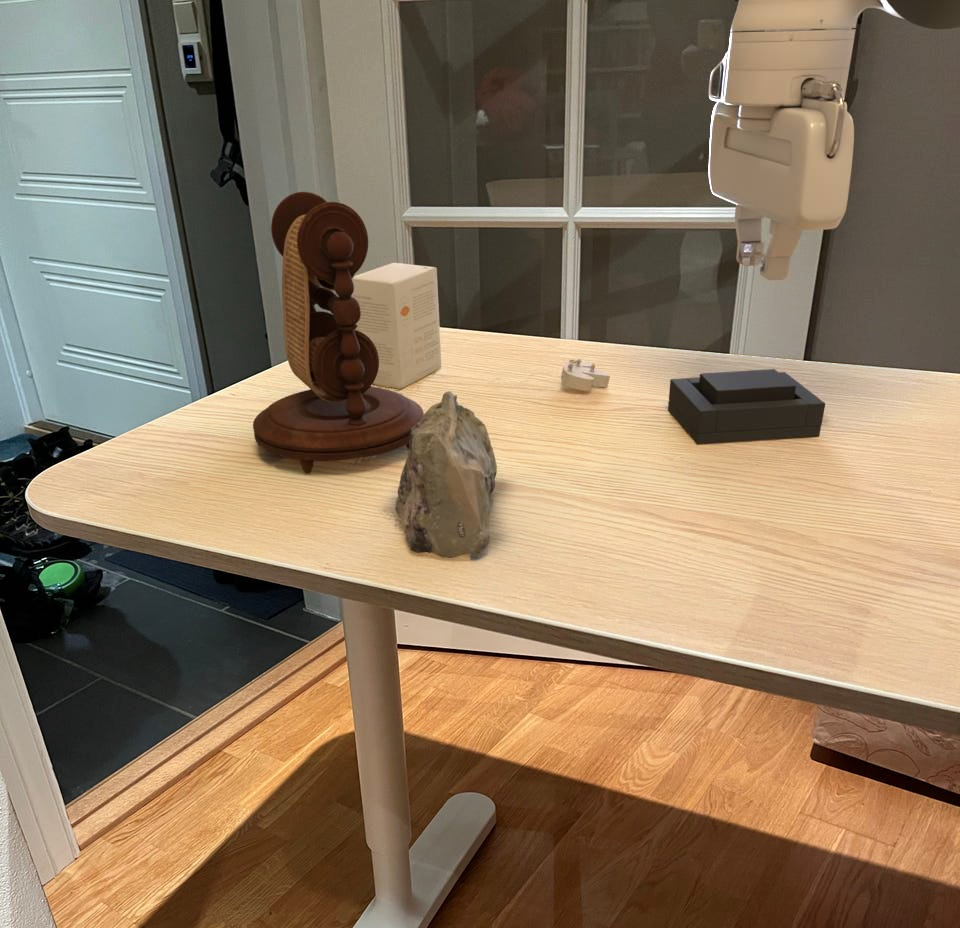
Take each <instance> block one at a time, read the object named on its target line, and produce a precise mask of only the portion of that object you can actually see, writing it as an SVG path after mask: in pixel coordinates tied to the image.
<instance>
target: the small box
mask: <svg viewBox="0 0 960 928" xmlns="http://www.w3.org/2000/svg"><path fill="white" fill-rule="evenodd" d="M352 281H353V283H354V292H353V294H352V296H351V297H353V298H355V299H356V300H357V301H358V303H359V305H360V310H361V317H360V320H359V321H358V322H357V323H356V324H357V325H358V327H357V328H356V329H355V330H357V331H360V332H362V333H363V334H365V335H366V336H368V337H369V338H370V339H371V341H372V342H373V343H374V345H375V347H376V349H377V352H378V357H379V368H378V373H377V376H376V378H375V380H374V382H373V384H372V385H375V386H381V387H386V388H391V389H395V390H402V389H403V388H405V387H407V386H410V385H411V384H413V383H415V382H417V381H419V380H421V379H423V378H425V377H427V376H429V375H431V374H433V373H435V372H436V371H439V370H441V368H442V350H441V349H442V346H441V330H440V329H441V325H440V309H439V308H440V307H439V289H438V269H437V267H436V266H427V265H418V264H409V263H400V262H391V263H389V264H385V265H383V266H379V267H377V268H374V269H371V270H367V271H365V272H361V273H359V274H355V275H354V277H353V279H352Z"/></svg>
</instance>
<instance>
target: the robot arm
mask: <svg viewBox="0 0 960 928" xmlns="http://www.w3.org/2000/svg"><path fill="white" fill-rule="evenodd" d="M737 3H738V4H737V7H736V11H735V13H734V17H733V19H732V21H731V25H730V33H729V34H730V35H729V45H728V50H727V51H726V53H725V55H724V57H723V58H722V60H721V61H720V62H719V63H718V64H717V65H716V66H715V67H714V68H713V70H712V71H711V73H710V78H709V85H708V97H709V99H710V100H711V101H714V102H716V103H715V105H714V107H713V110H712V114H711V122H710V134H709V135H710V137H709V155H708V157H709V158H708V180H709V186H710V190H711V193H712V194H713V195H714V196H716V197H719V198H720V199H723V200H725V201H727V202H730V203H732V204H735V211H734V223H735V231H736V239H737V247H736V256H735V259H736V262H737V263H739V264H741V265H742V266H745V267H753V266H755V267H757V266H760V268H759V273H760V275H761V277H763V278H765V279H767V280H768V281H783V280H785V279H786V278H787V277H788V275H789V270H790V262H791V257H792V256H793V253H794V251H795V250H796V248H797V246H798V244H799V241H800V239H801V237H802V234H803V231H821V230H823V231H824V230H833V229H836V228H837V227H839V225H840V224H841V222H842V219H843V218H844V216H845V214H846V210H847V206H848V199H849V192H850V185H851V176H852V175H851V174H852V167H853V155H854V147H855V145H854V144H855V124H854V120H853V117H852V115H851V114H850V113H849V111H848V104H847V102H846V101H845V97H846V90H847V86H848V78H849V72H850V68H851V62H852V55H853V48H854V43H855V36H856V30H857V29H856V28H857V23H858V18H859V17H860V15H861V13H863V12H864V11H865V10H866V9H876V10H881V11H884V12H886V13H887V14H890V15H892V16H894V17H896V18H900V19H903V20H905V21H907V22H909V23H911V24H912V25H916V26H918V27H921V28H926V29H929V30H930V29H931V30H951V29H958V28H960V0H738V2H737ZM764 218H767V219H769V220H770V222H769V229H768V233H769V234H770V239H769V242H768V246H767V249H766V251H765V253H764V249H765V243H764V242H763V241H762V219H764Z"/></svg>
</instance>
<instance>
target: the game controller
mask: <svg viewBox="0 0 960 928" xmlns="http://www.w3.org/2000/svg"><path fill="white" fill-rule="evenodd" d="M595 368H596V365H595V363H593V362H590V361H583V360H582V359H580V358H578V359H573V358H572V359H569V360H566V361H565V362H564V363H563V366H562V371H561V374H560V376H559V375H558V378H560V380H561V382H562V383H563V385H564V386H566V387H568V388H572V389H576V390H580V391H584V392H591V391H592V388H593V387H599V388H608V387H609V382H610V378H611V374H610V373H608V372H605V371H601V370H598V369H595ZM539 374H541V372H539V373H537V375H539ZM543 374H544V375H548V376H550V377H552V378H553V376H552V375H550V374H549V373H547V372H545V373H544V372H543ZM535 375H536V373H533V374H531V375H530V377H532V376H535ZM497 380H498V378H496V379H493V380H491V382H493V381H497ZM500 380H507V378H505V377H503V378H500ZM508 380H509V381H510V382H512V383H513V381H512V380H511V379H509V378H508ZM528 380H530V378H528V379H526V380H525V382H526V381H528ZM491 382H490V383H491ZM522 382H524V380H522V381H521V383H522Z"/></svg>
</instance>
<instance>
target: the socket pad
mask: <svg viewBox="0 0 960 928" xmlns="http://www.w3.org/2000/svg"><path fill="white" fill-rule="evenodd" d="M778 372H779V371H778ZM779 373H780V374H781V375H783V376H784V377H785V378H786V379H788V380H789V381H790V382H792V383H793V384H794V385H795V386H796V390H795V396H794V400H778V401H762V402H746V403H731V404H715V405H712V404H711V403H710V402H709V401H708V400H707V399H706V398H705V397H704V396H703V395H702V394H701V393H700V392H699V391H698V388H699V378H700V376H698V377H697V376H696V377H682V378H681V377H680V378H670V380H669V392H668V403H667V411H668V412H669V413H670V415H671V416H672V417H673V418H674V419H675V420H676V422H677V423H678V424H679V425H680V426H681V427H682V429H683V430H684V431H685V432H686V434H687V435H688V436H689V437H690V438H691V440H693V442H694V443H695V445H697V446H698V445H713V444H726V443H727V444H728V443H741V442H756V441H758V442H759V441H773V440H786V439H788V440H789V439H802V438H817V437H820V435H821V430H822V424H823V420H824V413H825V408H826V403H825V401H823V400H822V399H820V398H819V397H818V396H817V395H815V394H814V393H813V392H811V390H809V389H808V388H806V387H805V386H804V385H803V384H801V383H800V382H798V381H797V380H796V379H795V378H794V377H792V376H791V375H790V374H788V373H786V372H785V371H780V372H779Z"/></svg>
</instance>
